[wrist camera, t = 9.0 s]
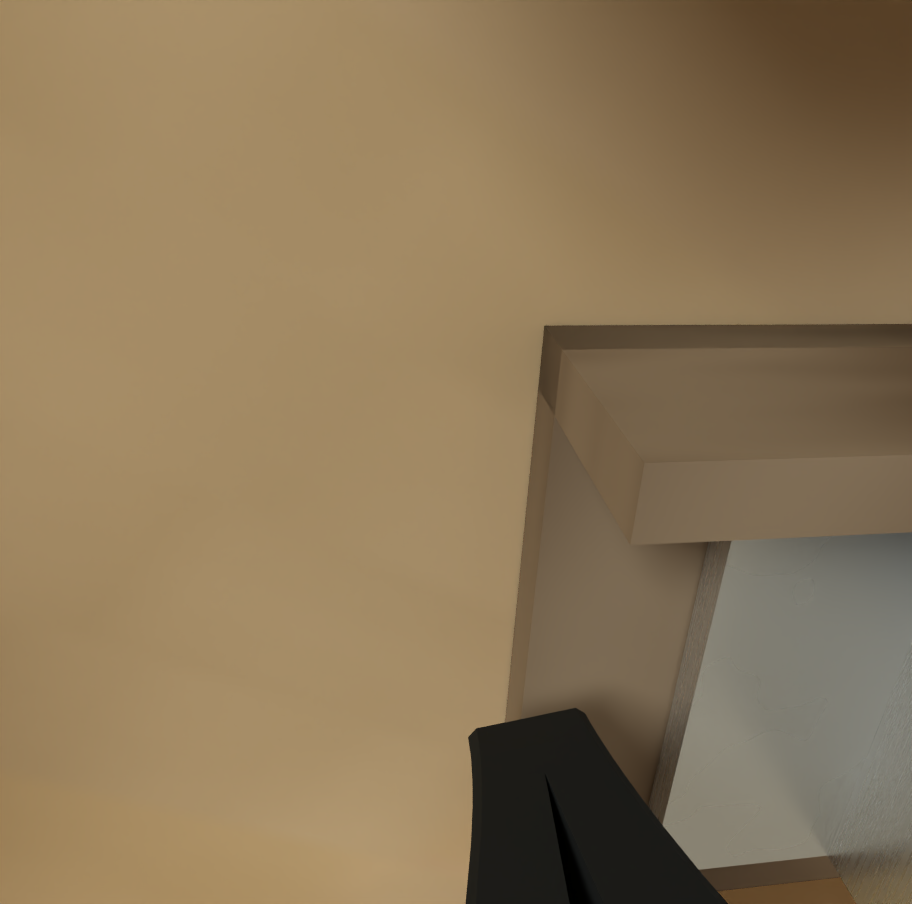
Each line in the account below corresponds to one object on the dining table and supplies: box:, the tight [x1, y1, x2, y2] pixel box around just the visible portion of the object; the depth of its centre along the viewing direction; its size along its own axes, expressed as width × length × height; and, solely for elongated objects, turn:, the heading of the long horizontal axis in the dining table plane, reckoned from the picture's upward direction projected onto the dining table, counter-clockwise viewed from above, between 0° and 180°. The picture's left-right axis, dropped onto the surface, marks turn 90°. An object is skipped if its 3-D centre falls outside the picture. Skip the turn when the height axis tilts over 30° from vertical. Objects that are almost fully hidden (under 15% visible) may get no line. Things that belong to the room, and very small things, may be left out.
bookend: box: [649, 532, 912, 904], centre depth 9 cm, size 4×7×5 cm, turn 178°
